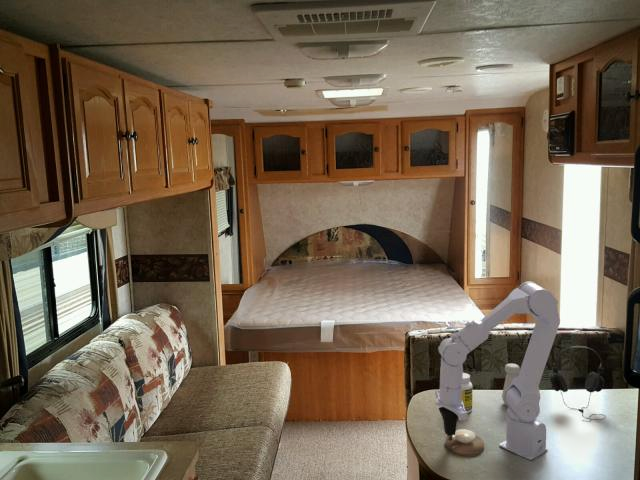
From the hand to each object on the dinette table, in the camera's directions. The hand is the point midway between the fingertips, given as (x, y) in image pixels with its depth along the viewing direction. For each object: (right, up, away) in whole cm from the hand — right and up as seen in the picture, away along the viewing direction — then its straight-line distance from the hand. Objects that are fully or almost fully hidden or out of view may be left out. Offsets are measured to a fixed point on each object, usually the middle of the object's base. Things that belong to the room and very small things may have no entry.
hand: (449, 433), depth 144 cm
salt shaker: (+25, 0, +25) cm, 36 cm away
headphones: (+43, -1, +19) cm, 47 cm away
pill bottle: (+9, -1, +23) cm, 25 cm away
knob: (+3, -2, +2) cm, 4 cm away
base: (+5, -4, +3) cm, 7 cm away
